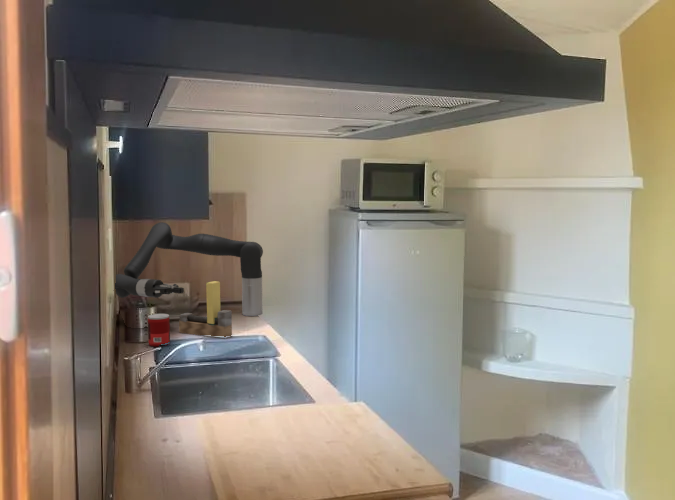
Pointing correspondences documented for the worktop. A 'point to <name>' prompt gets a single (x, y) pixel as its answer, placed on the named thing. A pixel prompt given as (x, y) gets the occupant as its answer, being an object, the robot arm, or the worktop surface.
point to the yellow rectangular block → (213, 301)
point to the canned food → (158, 329)
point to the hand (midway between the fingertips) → (182, 290)
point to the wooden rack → (206, 324)
